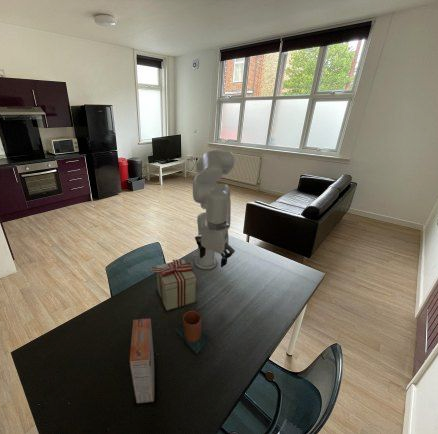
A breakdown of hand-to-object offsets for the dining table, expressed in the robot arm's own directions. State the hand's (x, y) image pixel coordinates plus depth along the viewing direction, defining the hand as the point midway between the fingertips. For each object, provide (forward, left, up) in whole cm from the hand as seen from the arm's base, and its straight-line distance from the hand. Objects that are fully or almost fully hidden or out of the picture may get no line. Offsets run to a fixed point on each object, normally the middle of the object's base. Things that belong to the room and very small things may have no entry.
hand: (212, 260), depth 96 cm
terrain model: (+2, -17, -26) cm, 31 cm away
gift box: (-18, -3, -26) cm, 32 cm away
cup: (+2, -17, -24) cm, 29 cm away
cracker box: (-1, -40, -26) cm, 48 cm away
